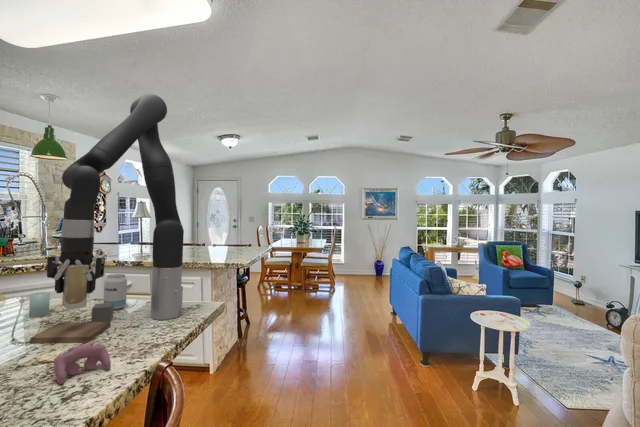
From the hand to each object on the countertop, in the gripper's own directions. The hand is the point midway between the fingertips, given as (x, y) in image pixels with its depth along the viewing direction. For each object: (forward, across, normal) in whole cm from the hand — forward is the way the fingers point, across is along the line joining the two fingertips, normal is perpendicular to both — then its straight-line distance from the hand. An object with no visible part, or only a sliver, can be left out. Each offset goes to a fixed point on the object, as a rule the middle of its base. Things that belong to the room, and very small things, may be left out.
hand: (75, 292), depth 91 cm
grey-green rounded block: (+12, +20, -18) cm, 29 cm away
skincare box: (+4, 0, 0) cm, 4 cm away
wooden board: (+12, 0, 0) cm, 12 cm away
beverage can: (+12, 0, -25) cm, 28 cm away
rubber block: (+12, -2, -12) cm, 17 cm away
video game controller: (+12, -15, +23) cm, 30 cm away
